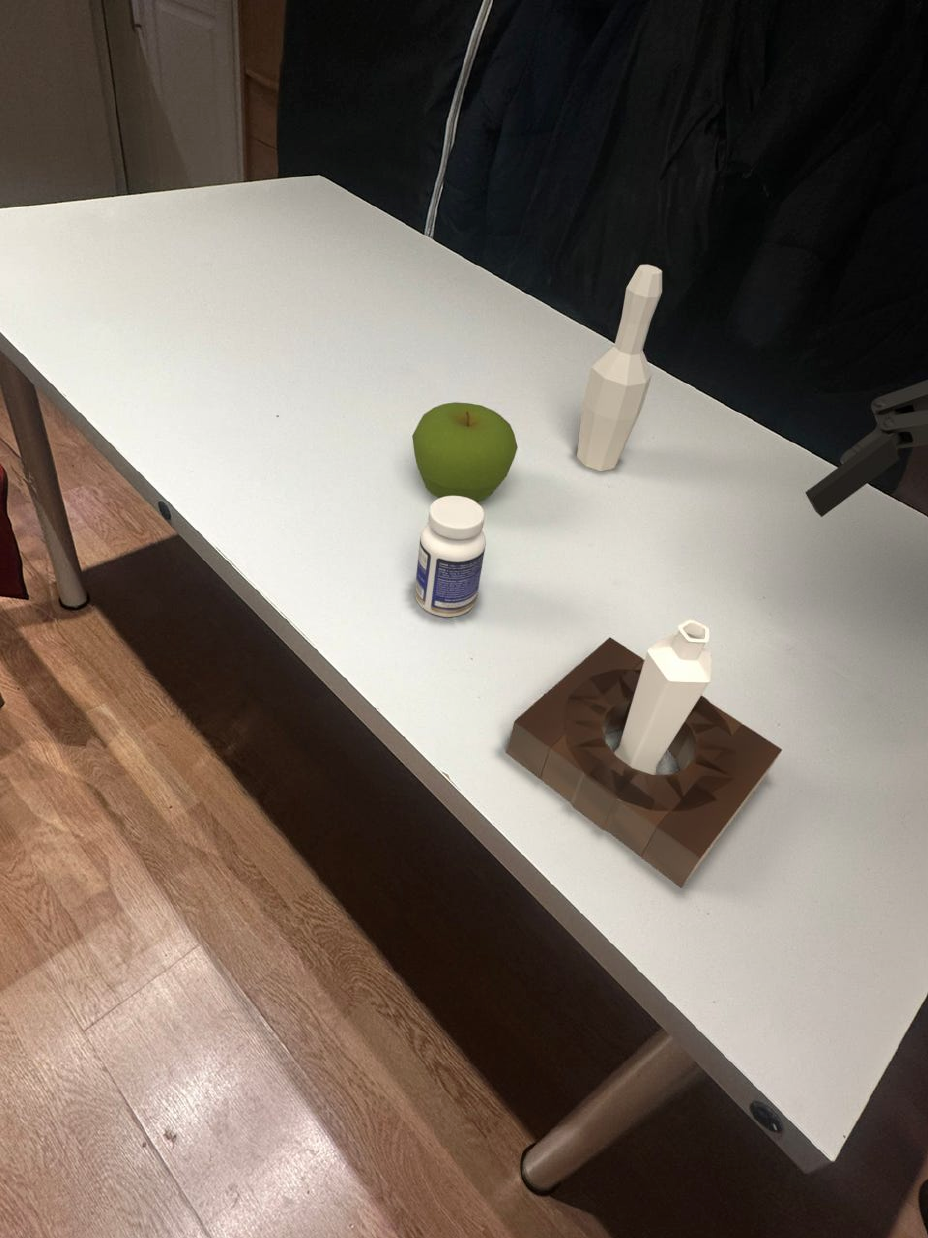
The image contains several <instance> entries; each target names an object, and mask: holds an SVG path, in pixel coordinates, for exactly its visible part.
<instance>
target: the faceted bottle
mask: <svg viewBox="0 0 928 1238" xmlns="http://www.w3.org/2000/svg"><path fill="white" fill-rule="evenodd" d="M662 293H663V270H662V269H660V268H658V267H657V266H654V265H650V264H640V265H639V266H638V267H637V269H636V270H635V272H634V274H633V276H632V278H631V279H630V280H629V283H628V285H627V286H626V288H625V295H624V300H623V307H622V312H621V313H622V314H621V319H620V322H619V326H618V329H617V334H616V338H615V341H614V344H613V346H612V347H610V348H609V349H608V350H607V351H606V352H604V353H603V354H602V355H601V356H600V357H599V358H598V359H597V360H596V361H595V362H594V363H593V364H592V366H591V367H590V372H589V376H588V380H587V383H586V387H585V392H584V396H583V401H582V405H581V407H582V408H581V417H580V426H579V433H578V434H579V435H578V445H577V454H576V458H577V460H579V462H580V463H582V464H583V465H584V466H585V467H586V468H589V469H592V470H594V471H598V472H605V471H610V470H614V469H615V467H617V464H618V462H619V461H620V458H621V456H622V453H623V451H624V449H625V447H626V445H627V442H628V440H629V439H630V436H631V434H632V432H633V429H634V428H635V424H636V423H637V421H638V418H639V416H640V413H641V412H642V409H643V406H644V404H645V400H646V397H647V393H648V390H649V387H650V383H651V380H652V377H653V372H652V369H651V367H650V364H649V362H648V360H647V357H646V355H645V353H644V351H643V349H644V346H645V343H646V339H647V335H648V332H649V328H650V325H651V321H652V318H653V316H654V314H655V311H656V309H657V306H658V303H659V301H660V299H661V295H662Z"/></svg>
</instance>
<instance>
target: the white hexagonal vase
mask: <svg viewBox="0 0 928 1238" xmlns="http://www.w3.org/2000/svg"><path fill="white" fill-rule="evenodd" d="M677 630H678V632H677V633H676V634H675V633H671V634H670V635H668V636H667V637H665V638H663V639H662V640H660V641H659V642H657V643H655V644H654V645H652V646H651V647H649V648H648V649H647V650H646V654H645V657H644V659H643V660H644V664H643V667H642V671H641V674H640V677H639V681H638V684H637V688H636V691H635V694H634V698H633V701H632V705H631V708H630V711H629V715H628V718H627V722H626V725H625V728H624V730H623V732H622V736H621V739H620V742H619V746H618V747H617V748H616V749H615V750H614V751H613V753H614V754H615V755H616V756H617V757H618V758H619V759H621V760H622V761H624V762H625V763H626V764H628V765H629V766H630V767H632V768H634V769H637V770H640V771H643V772H646V773H649V774H652V775H657V773H656V772H657V766H658V764H659V763H660V761H661V759H662V758H663V756H664V755H665V753H666V752H667V751H668V747H669V745H670V744H671V742H672V741H673V739H674V737H675V736H676V734H677V733H678V731H679V729H680V728H681V726H682V725H683V723H684V722H685V720H686V718H687V717H688V715H689V714H690V712H691V710H692V709H693V707H694V706H695V704H696V703H697V701H698V699H699V698H700V696H701V695H702V696H703V693H704V692H705V690H706V688H707V687H708V685H709V684H710V682H711V677H712V653H711V651H709V650H707V649H705V648H704V647H705V645H706V644H707V643H709V642H710V628H709V627H708V626H706V625H704V624H703V623H700V622H698V621H696V620H693V619H687V620H685V621H684V622H682V623H680V624H679V625H678V626H677Z"/></svg>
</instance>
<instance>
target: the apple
mask: <svg viewBox="0 0 928 1238" xmlns="http://www.w3.org/2000/svg"><path fill="white" fill-rule="evenodd" d="M416 425H417V426H416V428H415V429H414V431H413V433H412V436H411V438H412V447H413V453H414V459H415V462H416V467H417V470H418V472H419V474H420V478H421V480H422V482H423V485H424V487H425V489H426V490H427V491H428V492H429V493H430V494H431V495H432V496H433V497H435V498H437V499H439V498H442V497H446V496H461V497H466V498H469V499H471V500H473V501H475V502H480V501H484V500H485V499H487V498H489V497H490V496H491V495H492V494H493V493H494V492H495V491H496V490H497V489H498V487H499V486H500V485H501V484H502V483H503V482H504V481H505V480H506V478H507V476H508V474H509V471H510V469H511V467H512V465H513V463H514V461H515V458H516V455H517V451H518V447H519V446H518V444H517V439H516V436H515V433H514V430H513V428H512V426H511V423H509V422H508V420H506V419H505V418H504V417H503V416H502V415H501V414H499V413H498V412H497V411H495V410H493V409H491V408H488V407H486V406H484V405H480V404H475V403H470V402H457V401H456V402H454V401H453V402H449V403H443V404H439V405H437V406H435V407H432V408H431V409H429V410H428V411H427V412H425V413H424V414H423V415H422V417H421V418H420V420H419V422H418V424H416Z"/></svg>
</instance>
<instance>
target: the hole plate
mask: <svg viewBox="0 0 928 1238" xmlns="http://www.w3.org/2000/svg"><path fill="white" fill-rule="evenodd" d="M644 660H645V659H644V658H643V657H641V656H640V655H639V654H637V653H635V652H634V651H632V650H631V649H629V648H628V647H626V646H625V645H623V644H622V643H620V642H618V641H617V640H615V639H614V638H612V637H608V638H607V639H606V640H605V641H603V642H602V643H601V644H600V645H599V646H598V647H596V649H594V650H593V651H591V653H590V654H589V655H588V656H587V657H585V658H584V659H583V660H582V661H581V662H580V663H579V664H577V665H576V666H575V667H573V669H571V671H570V672H568V673H567V674H566V675H565V676H564V677H563V678H561V679H560V680H559V681H558V682H557V683H556V684H555V685H553V686H552V687H551V688H549V690H548V691H546V693H544V694H543V695H542V696H541V697H540V698H539V699H538V700H536V701H535V702H534V703H533V704H532V705H530V707H528V708H527V709H526V710H525V711H524V712H523V713H521V714H520V715H519V716H518V717H517V718H516V719H515V720H513V724H512V729H511V733H510V737H509V740H508V744H507V748H506V751H505V753H506V754H507V755H508V756H509V757H510V758H512V759H514V760H515V762H517V763H518V764H520V765H521V766H522V767H524V768H526V770H528V771H529V772H531V774H533V775H534V776H536V777H537V778H538V779H540V781H542V782H543V783H545V784H546V785H547V786H548V787H550V788H551V789H552V790H554V791H555V792H556V793H558V794H559V795H560V796H562V797H563V798H564V799H565V800H567V801H568V802H569V803H570V804H571V805H572V806H573V808H574V809H575V810H576V811H578V812H579V813H581V814H582V815H583V816H585V817H586V818H587V819H588V820H589V821H591V822H592V823H594V824H595V825H596V826H597V827H599V828H600V829H602V830H603V831H606V832H608V833H610V834H611V835H612V836H614V838H616V839H617V840H619V841H620V842H621V843H622V844H624V845H625V846H626V847H627V848H629V849H630V850H631V851H633V852H634V853H636V854H637V855H638V856H639V857H641V858H642V859H643V860H644V861H646V862H647V863H648V864H650V865H651V866H652V867H654V868H655V869H656V870H657V871H659V873H661V874H663V875H664V876H665V877H666V878H667V879H669V880H671V881H672V882H673V883H674V884H676V885H677V886H678V887H680V889H682V888H683V887H684V886H685V884H686V883H687V882H688V880H689V879H690V878H691V876H692V875H693V874H694V872H695V871H696V870H697V868H698V867H699V866H700V864H702V862H703V861H704V860H705V858H706V857H707V855H708V854H709V853H710V851H711V850H712V849H713V847H714V846H715V845H716V843H717V842H718V840H719V839H720V838H721V837H722V835H723V834H724V832H725V831H726V830H727V828H728V827H729V826H730V824H731V823H732V822H733V820H734V819H735V817H737V815H738V814H739V813H740V811H741V810H742V808H743V807H744V806H745V804H746V803H747V802H748V801H749V799H750V798H751V797H752V795H753V793H754V792H755V791H756V790H757V788H759V786H760V785H761V783H762V782H763V781H764V779H765V777H766V776H767V774H768V773H769V771H770V770H771V768H772V767H773V765H774V764H775V762H776V760H777V759H778V757H779V756H780V754H781V753H782V751H783V749H782V748H781V747H780V746H777V745H776V744H775V743H773V742H771V740H768V739H767V738H765V737H764V736H762V735H761V734H759V733H758V732H756V731H755V730H753V729H752V728H750V727H749V726H747V725H746V724H744V723H742V722H741V721H739V720H738V719H736V718H734V717H733V716H732V715H730V714H728V713H727V712H726V711H724V710H723V709H721V708H719V707H718V706H716V705H715V704H713V703H712V702H711V701H710V700H708V698H706V697H705V696H704V695H703V694H702V695H701V696H700V698H699V699H698V701H697V703H696V704H695V706H694V707H693V709H692V710H691V712H690V714H689V715H688V717H687V718H686V720H685V722H684V723H683V725H682V726H681V728H680V729H679V731H678V733H677V734H676V736H675V737H674V739H673V741H672V742H671V744H670V745H669V747H668V748H667V751H669V752H670V754H671V755H672V756H673V757H674V759H675V760H676V763H677V767H678V769H679V770H678V771H676V772H673V773H671V774H655V775H652V774H649V773H646V772H643V771H640V770H637V769H634V768H632V767H630V766H629V765H628V764H626V763H625V762H624V761H622V760H621V759H619V758H618V757H617V756H616V755H615V754H614V753H613V752H614V751H613V750H612V748H611V747H610V745H609V744H608V743H607V741H606V736H605V735H608V734H611V733H614V732H617V731H624V728H625V725H626V722H627V718H628V715H629V711H630V708H631V705H632V701H633V698H634V694H635V691H636V688H637V684H638V681H639V677H640V674H641V671H642V667H643V664H644Z"/></svg>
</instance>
